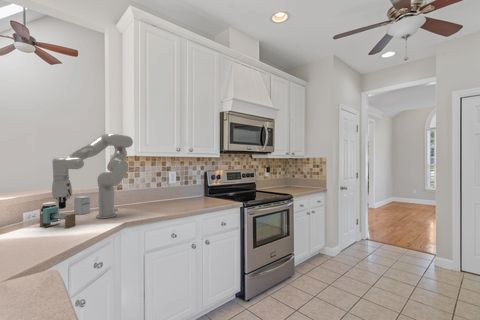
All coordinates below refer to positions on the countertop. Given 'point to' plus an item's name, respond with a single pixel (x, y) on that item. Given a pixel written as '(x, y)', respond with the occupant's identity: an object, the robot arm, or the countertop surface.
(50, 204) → the spread jar
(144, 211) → the countertop surface
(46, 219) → the teal flat block
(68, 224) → the brown wooden rack
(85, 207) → the supplement box
